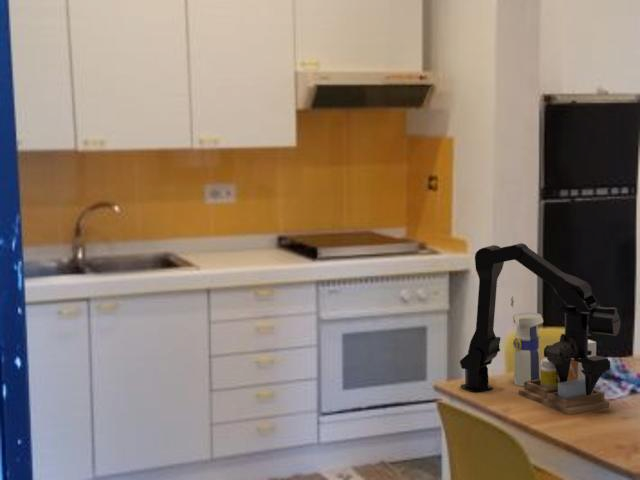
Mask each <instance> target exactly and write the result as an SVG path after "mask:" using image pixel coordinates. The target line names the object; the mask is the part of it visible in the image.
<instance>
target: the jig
mask: <svg viewBox="0 0 640 480" xmlns="http://www.w3.org/2000/svg"><path fill="white" fill-rule="evenodd" d="M559 383H561V382H560V379H559ZM523 387H524V388H521V389H518V391H517V393H518V395H520V396H522V397H525V398H527V399H528V400H532V401H534V402H537V403H539V404H542V405H544V406H546V407H549V408H551V409H554V410H556V411H558V412H561V413H563V414H566V415H568V416H571V415H575V414H580V413H586V412H590V411H595V410H601V409H604V408H609V407H610V401H607V400H605V392H603V391H600V390H598V389H596V388H594V389H593V394H591V395H583V396H578V397H573V398H568V399H564V398H561V397H559V396H558V388H552V389H546V388H543V387H541V379H537V380H532V381H526V382H524V386H523Z"/></svg>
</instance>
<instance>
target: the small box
mask: <svg viewBox="0 0 640 480" xmlns="http://www.w3.org/2000/svg"><path fill="white" fill-rule="evenodd" d="M588 350H590V351H592V355H587V357H592V356H597V341H594V340H592V339H588ZM579 359H580V358H579ZM581 370H584V369H583V368H582V363H580V362H577V361H574V360H571V363H570V368H569V373H568V378H567V381H572V380H577V379H582V378H585V375H584V374H583V373H582V371H581Z"/></svg>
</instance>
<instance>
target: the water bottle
mask: <svg viewBox="0 0 640 480" xmlns="http://www.w3.org/2000/svg"><path fill="white" fill-rule="evenodd" d="M511 296H512V297H510V302H511V303H510V307H512V308H514V303H515V300H514V295H513V294H512V295H511ZM512 319H513V327H514V326H516V332H515V334H514V339H513V342H512V345H513V348H514V355H513V356H514V359H513V360H514V361H513V362H514V371H513V384H514V385H516V386H519V387H524V382H526V381H532V380H537V379H541V367H542V358H541V357H542V356H541V355H542V353H541V349H540V343H539V342H540V340H539V339H540V338H541V335H540V334H539V325H541V324H543V323H544V318H543V316H542V315H541V313H538V312H537V313H536V312H519V313H514V314H513V315H512Z"/></svg>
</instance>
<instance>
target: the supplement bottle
mask: <svg viewBox="0 0 640 480" xmlns="http://www.w3.org/2000/svg"><path fill="white" fill-rule="evenodd" d="M558 383H559V376H558V373H557V370H556V368H555V366H554V364H553V363H551V362H550V361H548V360H547V357H545V358H543V359H541V387H543V388H546V389H552V388H558Z"/></svg>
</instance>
